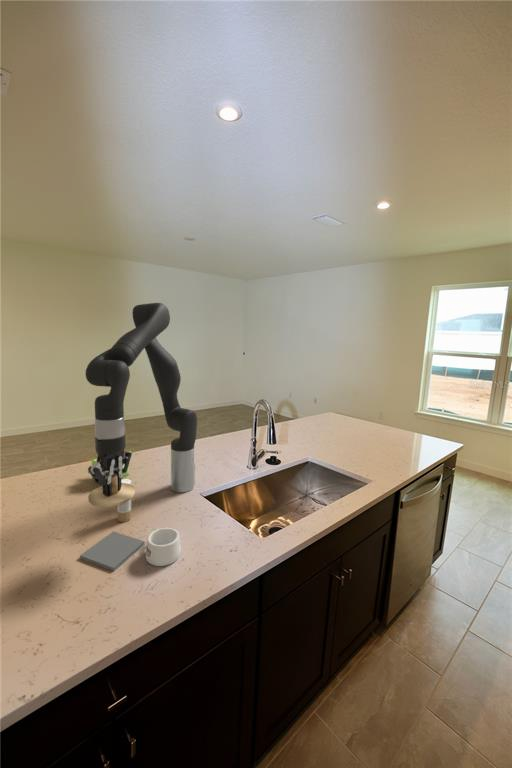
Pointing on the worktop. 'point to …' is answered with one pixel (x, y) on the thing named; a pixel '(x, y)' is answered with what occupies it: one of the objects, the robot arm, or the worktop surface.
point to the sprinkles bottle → (124, 507)
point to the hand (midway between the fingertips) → (112, 492)
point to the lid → (117, 496)
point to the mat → (112, 550)
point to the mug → (163, 547)
